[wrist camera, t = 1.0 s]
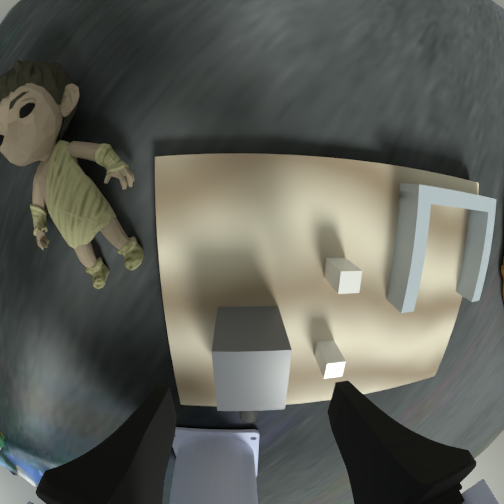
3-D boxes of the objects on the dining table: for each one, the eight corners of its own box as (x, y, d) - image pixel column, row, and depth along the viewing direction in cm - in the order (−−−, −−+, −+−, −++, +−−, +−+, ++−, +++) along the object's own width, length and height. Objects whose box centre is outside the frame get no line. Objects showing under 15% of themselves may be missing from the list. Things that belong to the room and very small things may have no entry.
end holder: (463, 291, 17) (479, 300, 15) (386, 299, 16) (401, 312, 14) (478, 196, 15) (496, 199, 13) (400, 182, 14) (419, 184, 12)
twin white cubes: (331, 354, 17) (342, 376, 15) (314, 356, 17) (323, 378, 15) (345, 257, 15) (362, 270, 13) (326, 257, 15) (340, 271, 13)
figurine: (62, 326, 13) (-48, 120, 6) (95, 272, 18) (8, 113, 12) (166, 272, 12) (36, 18, 5) (179, 224, 18) (85, 44, 11)
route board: (429, 370, 20) (434, 375, 19) (182, 395, 19) (180, 404, 18) (470, 181, 15) (478, 182, 14) (159, 158, 14) (154, 156, 13)
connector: (272, 401, 18) (280, 448, 14) (223, 402, 18) (221, 449, 13) (278, 305, 16) (292, 349, 12) (216, 306, 16) (210, 351, 11)
